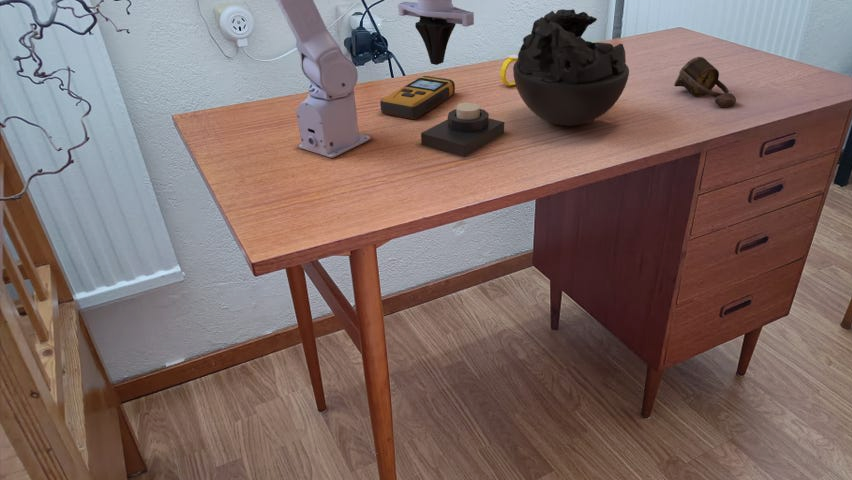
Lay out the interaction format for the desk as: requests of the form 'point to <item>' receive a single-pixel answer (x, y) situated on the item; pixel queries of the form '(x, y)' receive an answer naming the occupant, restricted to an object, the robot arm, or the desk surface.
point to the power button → (468, 111)
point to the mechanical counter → (704, 81)
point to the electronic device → (417, 97)
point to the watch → (504, 67)
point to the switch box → (462, 134)
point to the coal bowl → (568, 70)
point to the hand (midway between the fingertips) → (437, 63)
